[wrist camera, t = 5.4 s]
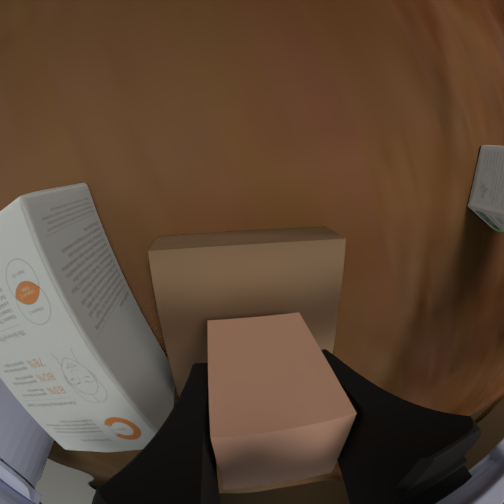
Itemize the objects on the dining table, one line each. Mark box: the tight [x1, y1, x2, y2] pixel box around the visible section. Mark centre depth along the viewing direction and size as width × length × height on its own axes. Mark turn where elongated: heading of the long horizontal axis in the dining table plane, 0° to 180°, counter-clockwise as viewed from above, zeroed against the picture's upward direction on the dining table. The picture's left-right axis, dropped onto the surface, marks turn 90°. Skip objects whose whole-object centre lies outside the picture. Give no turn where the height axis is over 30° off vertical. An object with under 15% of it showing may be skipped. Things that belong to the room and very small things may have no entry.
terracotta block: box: [207, 312, 357, 490], centre depth 10 cm, size 4×4×6 cm
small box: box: [0, 183, 175, 452], centre depth 11 cm, size 8×6×13 cm
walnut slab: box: [148, 227, 346, 397], centre depth 15 cm, size 9×9×3 cm
